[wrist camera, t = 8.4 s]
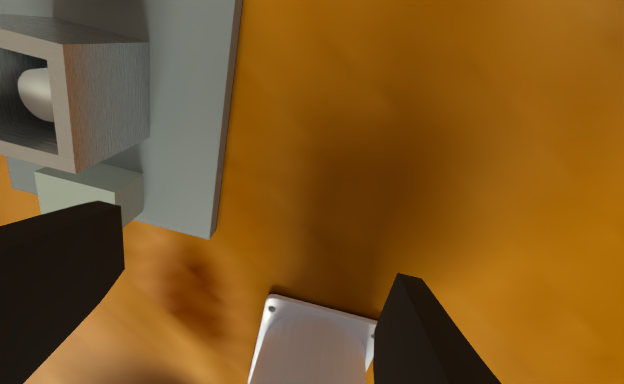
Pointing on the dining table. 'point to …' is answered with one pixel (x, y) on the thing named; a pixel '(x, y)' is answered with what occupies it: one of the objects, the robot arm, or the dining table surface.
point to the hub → (73, 92)
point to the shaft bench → (163, 112)
